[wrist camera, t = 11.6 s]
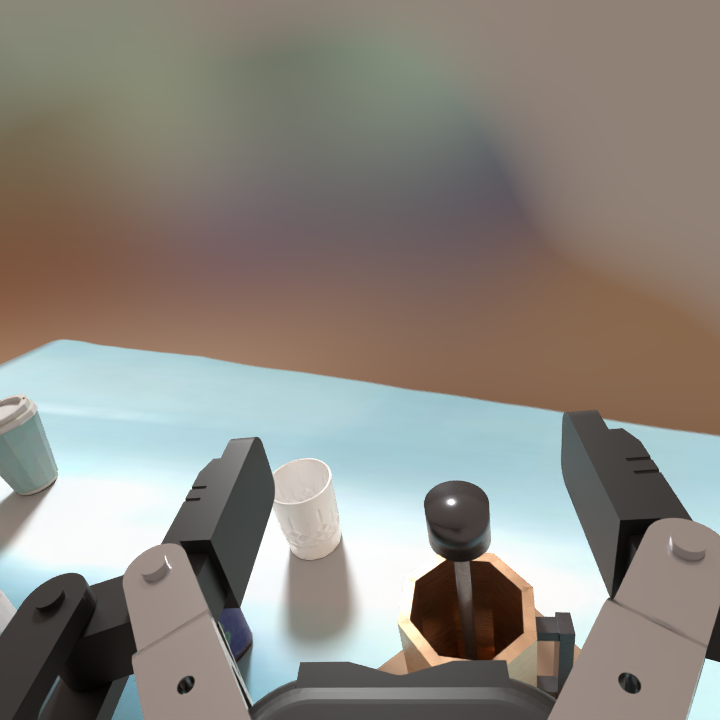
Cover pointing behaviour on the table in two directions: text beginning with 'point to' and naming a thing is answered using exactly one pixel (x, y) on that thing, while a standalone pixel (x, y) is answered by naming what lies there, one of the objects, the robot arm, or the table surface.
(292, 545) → the white cup
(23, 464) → the disposable coffee cup
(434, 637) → the press beaker
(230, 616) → the grey and blue model
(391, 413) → the table surface
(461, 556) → the plunger
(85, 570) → the table surface
